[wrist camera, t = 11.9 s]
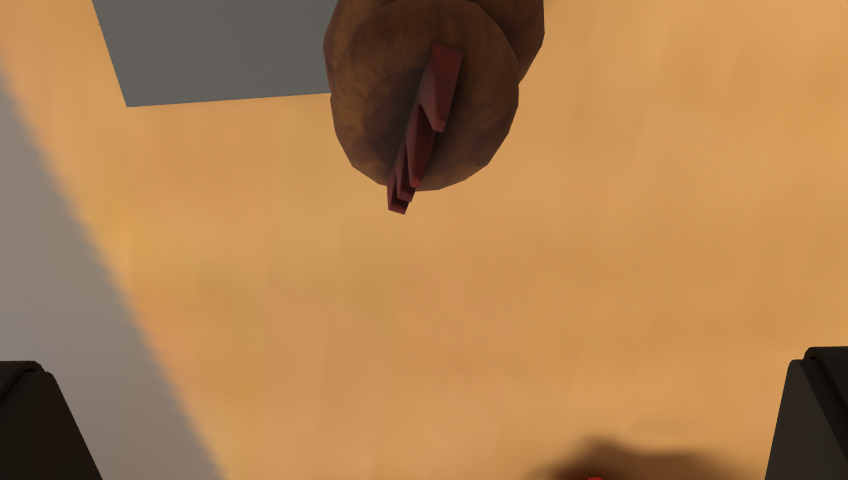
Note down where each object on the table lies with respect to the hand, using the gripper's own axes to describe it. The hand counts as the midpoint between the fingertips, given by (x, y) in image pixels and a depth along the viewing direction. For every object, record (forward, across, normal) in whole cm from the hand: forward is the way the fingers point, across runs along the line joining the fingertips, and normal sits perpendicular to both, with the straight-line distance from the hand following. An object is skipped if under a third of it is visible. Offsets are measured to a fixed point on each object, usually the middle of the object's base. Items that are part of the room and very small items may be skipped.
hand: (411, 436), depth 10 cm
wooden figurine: (+21, +1, 0) cm, 21 cm away
